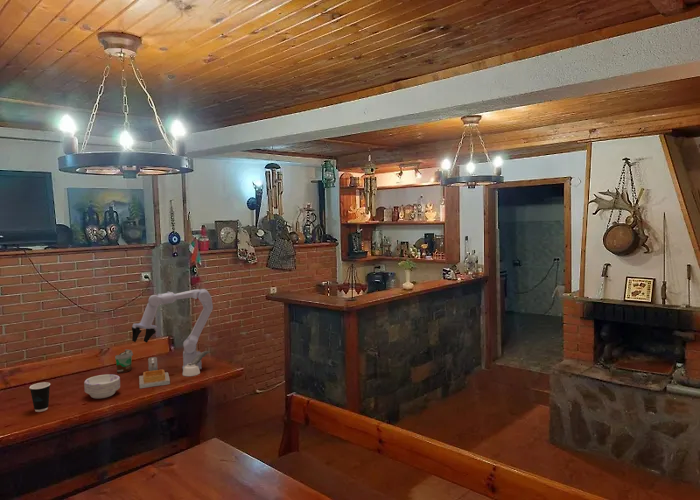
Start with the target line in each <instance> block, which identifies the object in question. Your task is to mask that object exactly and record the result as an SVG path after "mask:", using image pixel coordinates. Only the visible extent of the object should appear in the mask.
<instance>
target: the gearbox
mask: <svg viewBox="0 0 700 500" xmlns="http://www.w3.org/2000/svg"><path fill="white" fill-rule="evenodd" d="M138 379H139V381H138V383H139V385H138V386H139V389H146V388H152V387H153V388H154V387H161V386H167V385H171V379H170V376H169V372H167V371H166V372H165V369H158V370H153V371H149V370H148V371H143V373H142V375H139V376H138Z"/></svg>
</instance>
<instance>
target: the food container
mask: <svg viewBox="0 0 700 500" xmlns="http://www.w3.org/2000/svg"><path fill="white" fill-rule="evenodd" d="M124 350H125V351H123V352H121V353H119V354H116V355H115V358H114V359H115V365H116V372H117V374H121V373H122V374H123V373H127V372H130V371H131V370H132V358H133V357H132V356H134V353H133V350H132V349H126V348H125V349H124Z"/></svg>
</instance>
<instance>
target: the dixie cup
mask: <svg viewBox="0 0 700 500" xmlns="http://www.w3.org/2000/svg"><path fill="white" fill-rule="evenodd" d="M50 387H51V383H50V382H47V381H46V382H45V381H44V382H37V383H34V384H31V385H30V386H29V390H30V394H31V395H30V396H31V400H32V404H33V409H34V411H35V412H37V413H41V412H45V411H47V410H48V409H49V404H50V403H49V402H50Z"/></svg>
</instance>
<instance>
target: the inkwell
mask: <svg viewBox="0 0 700 500" xmlns="http://www.w3.org/2000/svg"><path fill="white" fill-rule="evenodd" d="M209 353H211V351H210V350H204V351H202V352H201V353H200V354H199V355H198V356H197V357H195V359H194V360H193V361H192V363H189V364H187V365H186V366H184V369H183V368H182V373H181V374H182V376H183V377H195V376H198V375H200V374H201V371H200V370H201V369H199V367H198V365H196V364H198V363H199V362H200V360H201V361H202V360H203V358H204V357H206V355H208V354H209Z"/></svg>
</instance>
